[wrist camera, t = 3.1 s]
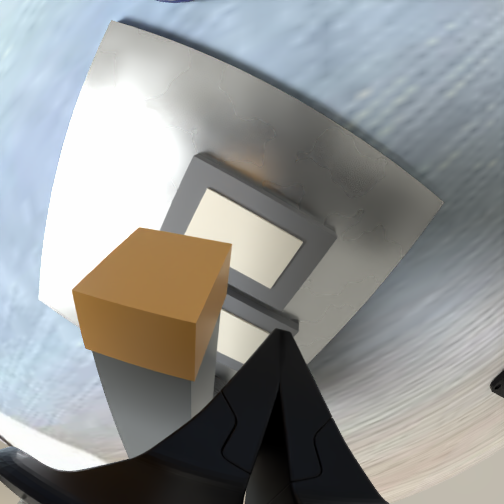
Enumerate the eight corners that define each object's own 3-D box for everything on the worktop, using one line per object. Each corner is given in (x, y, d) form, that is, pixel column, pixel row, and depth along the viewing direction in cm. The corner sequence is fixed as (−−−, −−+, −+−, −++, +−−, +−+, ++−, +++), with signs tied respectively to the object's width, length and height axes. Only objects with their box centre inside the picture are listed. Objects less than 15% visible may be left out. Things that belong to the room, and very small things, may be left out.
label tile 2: (298, 324, 14) (298, 332, 14) (256, 372, 16) (254, 380, 16) (179, 260, 14) (174, 266, 13) (152, 319, 15) (147, 326, 15)
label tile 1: (335, 232, 12) (337, 239, 12) (282, 304, 14) (281, 313, 13) (197, 153, 11) (192, 156, 11) (159, 237, 13) (153, 243, 13)
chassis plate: (440, 199, 11) (493, 246, 7) (248, 414, 19) (236, 473, 15) (116, 21, 10) (47, 3, 6) (41, 299, 17) (1, 341, 13)
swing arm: (219, 468, 14) (206, 519, 11) (155, 451, 14) (136, 499, 12) (251, 247, 8) (223, 333, 5) (123, 224, 8) (50, 286, 5)
